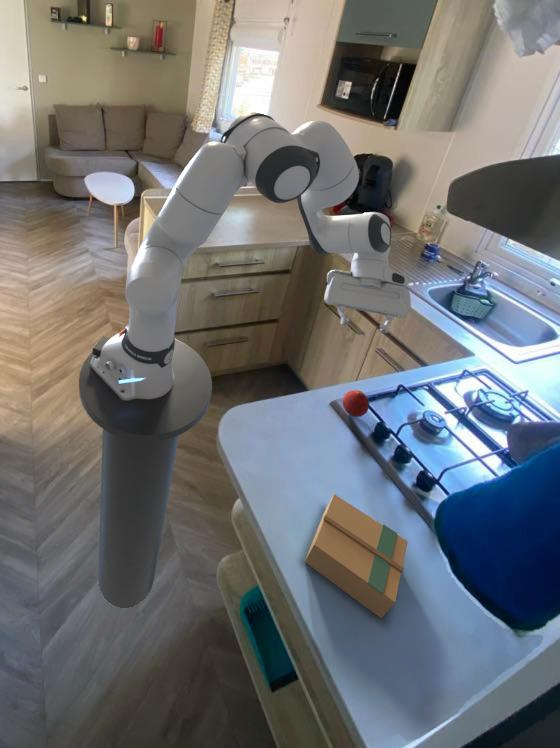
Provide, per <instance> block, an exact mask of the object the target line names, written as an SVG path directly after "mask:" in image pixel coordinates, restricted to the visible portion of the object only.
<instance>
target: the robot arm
mask: <svg viewBox="0 0 560 748" xmlns="http://www.w3.org/2000/svg"><path fill="white" fill-rule="evenodd" d="M359 179H360V174H359V168H358V164H357V161H356V159H355V157H354V154H353V153H352V150H351V149H350V147H349V145H348V144H347V143H346V141H345V139H344V137H343V136H342V135H341V134H340V132H339V131H338V130H337V129H336V128H335V127H334V126H333V125H332V124H330V123H329V122H327V121H324V120H313V121H308V122H306V123H304V124H302V125H301V126H299V127H298V128H297V129H296V130H295V131H294V132H290V131H288V130H287V129H286V128H285V126H283V125H281V124H279V123H278V122H277V121H276V120H275V119H274V118H273V117H272V116H270V115H269V114H266V113H263V112H261V111H257V110H251V111H247V112H245V113H243V114H241V115H240V116H238V117H237V118H236V119H234V121H233V122H232V123H231V124H230V125H229V126H228V128H227V129H226V130H225V131H223V133H222V135H221V136H220V141H209V142H207V143H204V144H203V145H202V146H201V147H200V148H199V150H197V152H196V153H194V155H193V157H192V158H191V159H190V161H189V162H188V163H187V165H186V166H185V167H184V169H183V170H182V172H181V173H180V175H179V177H178V178H177V180H176V181H175V184H174V185H173V188H172V189H171V191H170V193H169V195H168V197H167V198H166V200H165V202H164V204H163V206H162V208H161V210H160V211H159V212H158V214H157V216H156V218H155V220H154V221H153V223H152V225H151V226H150V228H149V229H148V231H147V233H146V234H145V236H144V238H143V240H142V241H141V243H140V245H139V247H138V250H137V251H136V252H137V253H136V255H135V256H134V259H133V261H132V264H131V265H130V268H129V269H128V273H127V275H126V281H125V292H124V296H125V300H126V302H127V305H128V308H129V309H128V310H129V312H128V324H127V325H126V326H125V328H123V329H122V330H121V331H120V332H118V333H117V334H115V335H113V336H112V337H107V336H105V335H103V336H101V337H100V339H99V340H98V341H97V342H96V343H95V344H94V345H93V347H92V351H93V355H94V356H93V358H92V360H91V364H90V366H91V368H92V369H93V370H94V371H95V372H96V373H97V374H98V375H99V376H100V377H101V378H102V379H103V380H104V381H105V382H106V383H107V384H108V385H109V386H110V387H111V389H112V390H113V391H114V392H115V393H116V394H117V395H118V396H119V397H120V398H121V399H122V400H132V399H154V398H158V397H161V396H163V395H165V394H166V393H167V392H169V391H170V389H171V388H172V386H173V384H174V373H173V368H172V357H173V353H174V346H175V339H176V335H175V331H176V325H177V316H178V304H179V303H178V302H179V295H180V294H179V292H180V287H181V283H182V279H183V274H184V271H185V268H186V265H187V263H188V261H189V259H190V258H191V257H192V255H193V254H194V252H195V251H196V250H197V249H198V248H199V247H201V246H202V245H204V243H206V242H207V240H208V238H209V237H210V236H211V234H212V233H213V231H214V229H215V228H216V226H217V224H218V223H219V221H221V220H220V219H222V217H223V215H224V214H225V212H226V211H227V209H228V207H229V206H230V204H231V202H232V201H233V199H234V196H235V194H236V193H237V191H239V190H240V189H241V188H242V187H243V186H245V185H246V184H248V183H249V182H250V183H251V184H252V185H253V186H254V187H255V188H256V190H257V192H258V193H260V195H262V196H263V197H264V198H265V199H267V200H269V201H271V202H273V203H277V204H285V203H288V202H291V201H295V200H296V202H297V207H298V209H299V213H300V215H301V219H302V220H303V224H304V227H305V229H306V231H307V237H308V242H309V245H310V247H311V249H312V250H313V251H314V252H316V253H317V254H318V255H321V256H324V255H325V256H326V255H335V254H353V257H352V259H351V265H350V271H347V270H341V269H337V268H334V269H332V270H329V271H328V272H327V274H326V288H325V292H324V296H323V297H324V298H323V300H324V303H325V304H326V305H329V306H336V307H337V314H339V316H340V326H341V325H342V326H349V325H350V322H349V321H350V317H347V316H346V313H345V311H346V310H347V309H352V310H357V311H361V312H367V313H371V314H375V315H376V314H377V315H382V316H384V320H386V321H385V322H384V323H383V324H379V329H378V332H379V333H383V334H388V333H389V326H390V325H391V324H392V323H393V321H394V320H395V318H398V319H405V318H407V317H408V316H409V315H410V314H411V309H412V304H411V303H412V298H411V292H410V290H409V288H407V286H408V285H409V281H410V279H409V278H408V277H407V276H405V275H403V274H401V273H399V272H397V271H395V270H393V269H392V268H390V261H389V255H390V252H391V247H392V246H391V245H392V228H391V221H390V219H389V217H388V216H387V215H385V214H384V213H382V212H376V211H369V212H364V213H356V214H344V215H326V214H324V211H323V210H324V209H327V208H331V207H335V206H338V205H340V204H342V203H343V202H345V201H346V200H347V199H349V198H350V197H351V196H352V194H353V193H354V191H355V190H356V188H357V186H358V183H359ZM96 358H98V359H96ZM122 392H124V393H122Z"/></svg>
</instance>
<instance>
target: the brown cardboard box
mask: <svg viewBox="0 0 560 748" xmlns="http://www.w3.org/2000/svg"><path fill="white" fill-rule="evenodd" d="M407 546H408V540H407V539H406V538H404V537H402V536H401V535H399V534H398V532H397V531H395V530H393V529H392V528H390V527H389V526H387V525H386V524H384V523H380V522H379V521H377V520H376V519H374V518H373V517H371V516H370V515H368V514H366V513H365V512H363V511H362V510H360V509H358V508H357V507H355V506H354V505H353V504H351V503H350V502H348V501H346V500H345V499H343V498H341V497H340V496H339V495H337V494H335V493H333V494H332V496H331V498H330V500H329V502H328V504H327V506H326V508H325V510H324V512H323V514H322V516H321V520H320V521H319V525H318V527H317V529H316V532H315V534H314V537H313V539H312V542H311V545H310V547H309V550H308V552H307V555H306V557H305V560H304V563H306V564H307V565H308V566H309V567H311V568H312V569H313V570H315V572H317V573H319V574H320V575H321V576H323V577H324V578H325V579H327V580H328V581H329V582H331V583H332V584H334V585H335V586H336V587H338V588H339V589H340V590H342V591H343V592H344V593H346V594H347V595H349V596H350V597H351V598H353V599H354V600H355V601H357V602H358V603H359V604H360V605H362V606H363V607H365V609H367V610H369V611H370V612H372V613H373V614H374V615H376V616H377V617H378V618H380V619H383V618H384V616H385V615H386V614H387V613H388V612H389V611H390V610H391V608H392V607H393V606H394V605H395V604H396V601H397V596H398V592H399V586H400V581H401V576H402V573H403V572H404V562H405V558H406V557H405V556H406V552H407Z"/></svg>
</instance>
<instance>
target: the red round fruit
mask: <svg viewBox="0 0 560 748" xmlns="http://www.w3.org/2000/svg"><path fill="white" fill-rule="evenodd" d="M341 401H342V407H343V409H344V411H345V412H346V413H347V414H348V415H350V416H351V417H355V418H358V417H363V416H365V415H366V414H367V413H368V411H369V408H370V402H369V398H368V397H367V395H366V394H365V393H364V392H363V391H362V390H361V389H351V390H349V391H347V392H346V393H344V395H343V397H342V400H341Z"/></svg>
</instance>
